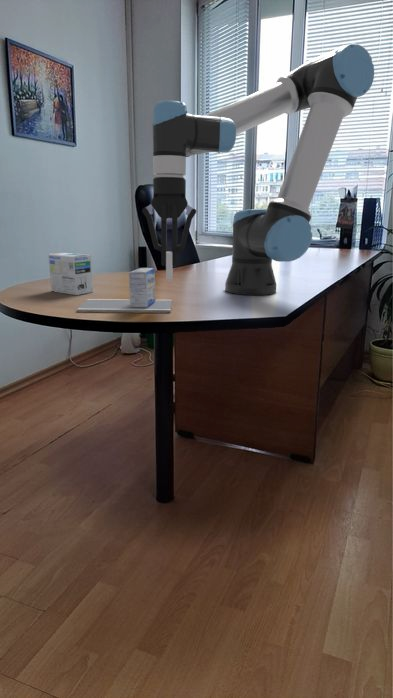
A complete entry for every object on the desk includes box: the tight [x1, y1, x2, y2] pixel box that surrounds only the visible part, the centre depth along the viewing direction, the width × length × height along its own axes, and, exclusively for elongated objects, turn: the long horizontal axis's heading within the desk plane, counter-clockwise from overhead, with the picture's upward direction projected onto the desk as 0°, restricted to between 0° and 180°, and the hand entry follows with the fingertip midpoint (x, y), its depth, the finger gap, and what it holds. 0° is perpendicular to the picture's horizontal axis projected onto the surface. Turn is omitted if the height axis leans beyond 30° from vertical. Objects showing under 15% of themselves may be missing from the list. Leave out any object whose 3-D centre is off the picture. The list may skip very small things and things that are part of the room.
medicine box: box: [128, 267, 156, 308], centre depth 117 cm, size 8×4×9 cm, turn 170°
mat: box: [76, 298, 173, 314], centre depth 118 cm, size 22×12×1 cm, turn 91°
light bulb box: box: [48, 252, 94, 296], centre depth 135 cm, size 11×7×11 cm, turn 58°
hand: (169, 279), depth 116 cm, fingers closed
